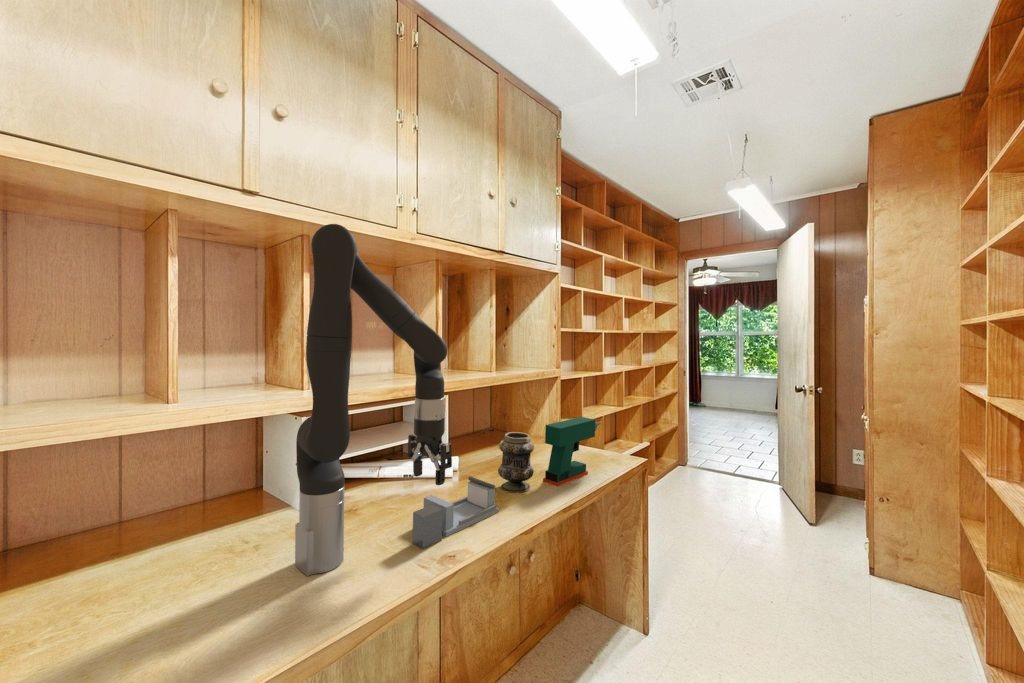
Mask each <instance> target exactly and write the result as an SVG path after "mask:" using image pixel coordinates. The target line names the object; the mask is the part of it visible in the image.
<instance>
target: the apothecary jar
mask: <svg viewBox="0 0 1024 683" xmlns="http://www.w3.org/2000/svg"><path fill="white" fill-rule="evenodd" d="M498 448H499V450H500V451H501V452H502V457H501V458H502V459H501V463H500V465H499V466H498V467H497V473H498V475H499V476H500V477H501V478H502V479H503V480H506V481H505V482H503V483H501V485H500V488H501V490H503V491H504V492H507V493H513V494H520V493H527V492H528V491H529V490H530V489H531V486H530V484H529V483H528V482H526V481H528V480H530V479H531V478H532V477H533V475H534V474H535V473H534V472H535V471H534V468H533V466H532V465H531V455H532V453H533V452H534V450H535V444H534V443H533V441H531V436H530V434H528V433H525V432H520V431H510V432H509V431H508V432H506V433H505V434H504V437H503V440H501V441H500V442H499V446H498Z"/></svg>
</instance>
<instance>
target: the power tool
mask: <svg viewBox="0 0 1024 683" xmlns="http://www.w3.org/2000/svg"><path fill="white" fill-rule="evenodd" d="M601 424H602V422H597V421H596V419H594V418H589V417H585V416H580V417H575V418H571V419H565V420H562V421H557V422H553V423H549V424H548V423H547V424H545V429H544V430H545V434H544V435H545V437H544V444H546V445H550V446H551V452H550V457H549V462H548V467H547V470H545V472H544V474H545V475H544V477H543V478H542V482H544V483H546V484H550V485H551V486H555V487H560V486H562V485H564V484H567V483H570V482H571V481H574V479H575V480H577V479H579V477H580V478H582V477H584V475H585V476H587V475H588V474H589V471H588V470H587V464H586V463H584V462H580V461H577V460H572V458H573V453H575V452H577V451H579V450H580V442H582V441H586V440H588V439H592V438H595V437H596V431H597V429H598V426H600V425H601Z"/></svg>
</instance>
